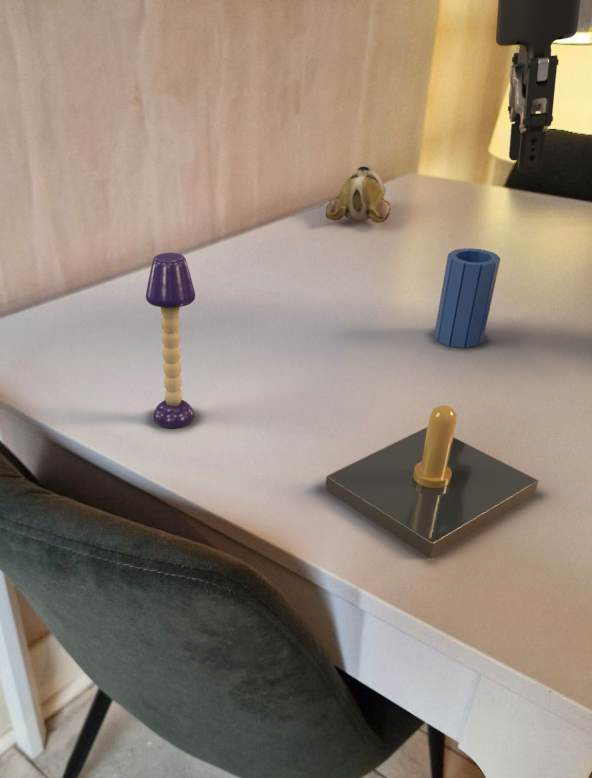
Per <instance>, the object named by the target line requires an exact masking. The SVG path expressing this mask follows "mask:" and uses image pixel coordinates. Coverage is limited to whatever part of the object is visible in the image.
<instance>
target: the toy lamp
mask: <svg viewBox="0 0 592 778" xmlns="http://www.w3.org/2000/svg"><path fill="white" fill-rule="evenodd" d="M146 286H147V287H146V291H145V300H146V302H147V303H149V304H150V305H152V306H154V307H158V308H160V312H161V315H162V318H161V323H160V324H161V329H162V331H163V332H162V335H161V341H162V345H163V347H162V359H163V361H164V362H163V366H162V369H163V374H164V375H165V376H164V378H163V385H164V388H165V391H164V400H162V401H161V402H159V403H158V405H157V406H156V407H155V409H154V412H153V422H154V423H155V424H156V425H158V426H161V427H164V428H170V429H174V428H181V427H185V426H187V425H189V424H191V423H192V422H193V421H194V419H195V412H194V409H193V407H192V406H191V405H190V403H188V402H187V401H186V400H184V399H183V392H182V390H181V388H182V382H183V379H182V376H181V373H182V363H181V361H180V359H181V355H182V351H181V348H180V344H181V333H180V332H179V330H180V327H181V320H180V317H179V314H180V309H181V308H182V307H185V306H189V305H190V304H192V303H193V302H194V301H195V300H196V291H195V287H194V284H193V280H192V276H191V272H190V268H189V265H188V261H187V259H186V257H185V256H184V255H183V254H181V253H177V252H163V253H159V254H157V255H155V256H154V257H153V259H152V262H151V267H150V271H149V276H148V280H147V285H146Z"/></svg>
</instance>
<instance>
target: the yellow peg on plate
mask: <svg viewBox="0 0 592 778" xmlns="http://www.w3.org/2000/svg"><path fill="white" fill-rule="evenodd" d="M457 421H458V416H457V413H456V411H455V409H454V408H452V407H451V406H449V405H443V404H442V405H438V406H436V407H434V409H432V411H430V414H429V418H428V422H427V426H426V427H424V428H422V429H420V430H418V431H416V432H414V433H412V434H410V435H408V436H406V437H403V438H401V439H399V440H398V441H396V442H394V443H391V444H389V445H387V446H386V447H383V448H381V449H380V450H376V451H375V452H373V453H370V454H369V455H367V456H365V457H363V458H361V459H358V460H357V461H354V462H352V463H350V464H348V465H346V466H344V467H342V468H340V469H338V470H336V471H334V472H332V473H330V474H328V475H326V477H325V486H324V487H325V488H324V490H325V491H326V492H328V493H329V494H331V495H333V496H334V497H336V498H337V499H339V500H340V501H342V502H343V503H345V504H347V505H348V506H350V508H352V509H354V510H355V511H357V512H359V513H361V514H362V515H363V516H365V517H366V518H368V519H370V520H371V521H373V522H374V523H376V524H378V525H379V526H380V527H382V528H384V529H385V530H386V531H388V532H390V533H391V534H393V535H394V536H395V537H397V538H399V539H400V540H402V541H403V542H405V543H406V544H408V545H409V546H411V547H413V548H415V549H416V550H417V551H418V552H420V553H422V554H423V555H425V556H426V557H428V558H432V557H433V556H436V555H437V554H440V552H442V551H444V550H445V549H447V548H449V547H450V546H452V545H454V544H455V543H457V542H458V541H459V540H462V539H463V538H465V537H466V536H468V535H470V534H471V533H473V532H475V531H476V530H478V529H480V528H482V527H484V525H486V524H488V523H490V522H492V521H493V520H494V519H496V518H498V517H499V516H501V515H502V514H504V513H506V512H507V511H509V510H512V509H513V508H514V507H515V506H518V505H519V504H521V503H522V502H524V501H525V500H527V499H529V498H530V497H532V496H534V495H535V494H536V490H537V486H538V483H539V480H538V479H536V478H534V477H532V476H531V475H529V474H527V473H525V472H523V471H520V470H519V469H517V468H515V467H513V466H511V465H509V464H507V463H505V462H503V461H502V460H499V459H497V458H496V457H493V456H492V455H490V454H487V453H485V452H483V451H482V450H480V449H477V448H475V447H474V446H472V445H470V444H468V443H465V442H464V441H462V440H460V439H458V438H456V437H454V435H455V430H456V427H457V426H456V425H457Z"/></svg>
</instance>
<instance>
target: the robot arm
mask: <svg viewBox="0 0 592 778" xmlns="http://www.w3.org/2000/svg"><path fill="white" fill-rule="evenodd" d="M581 1H582V0H498V2H497V15H496V31H495V43H496V45H498V46H500V47H509V46H510V47H511V46H519V48H518V52H514V53H513V56H512V57H511V63H512V64H511V65H510V69H509V85H510V86H509V91H508V106H507V111H508V118H509V122H510V123H511V124H510V136H509V147H508V148H509V149H508V150H509V151H508V158H509V159H510V160H511V161H513V162H514V161H518V162H517V170H518V171H519V173H521V174H532V173H539V172H540V171H541V170H542V168H543V157H544V150H545V138H546V132H547V131H548V129H549V127H551V126H552V123H553V121H554V115H553V113H554V101H555V93H556V92H555V90H556V79H557V72H558V71H557V70H558V66H559V61H560V60H559V58H558V55H557V54H554V55H552V44H553V43H554V42H555V41H559V40H566V39H570V38H572V37H574V36H575V35H576V34H577V32H578V29H579V28H578V27H579V17H580V10H581ZM537 112H539V113H537Z"/></svg>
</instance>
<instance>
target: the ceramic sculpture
mask: <svg viewBox="0 0 592 778" xmlns="http://www.w3.org/2000/svg"><path fill="white" fill-rule="evenodd" d="M385 196H386V186H385V185H384V182H383V179H382V178H381V176H380V175H379V174H378V172H377V171H376V170H375V169H374V168H372V167H371V165H370V164H369V163H366V164H365V165H363V166H360V167H358V168H356V169H355V170H354V171H353V172H352V174H351V175H350V176H349V177H348V179H347V180H346V181H345V182H344V184H342V186H341V189H340V191H339V194H338V196H337V197H336V196H335V197H333V198H331V199H330V200H329V203H328V204H327V205H326V210H325V217H326V218H327V219H328V220H331V221H339V220H341V219H343V218H344V217H345V218H347V219H348V220H350V221H355V222H366V221H368V220H371V221H372V222H374V223H378V224H380V223H383V222H385V221H387V220H388V217H389V215H390V213H391V205H390V204H391V203H390V202H389V201H388V200H386V199H384V198H385Z"/></svg>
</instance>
